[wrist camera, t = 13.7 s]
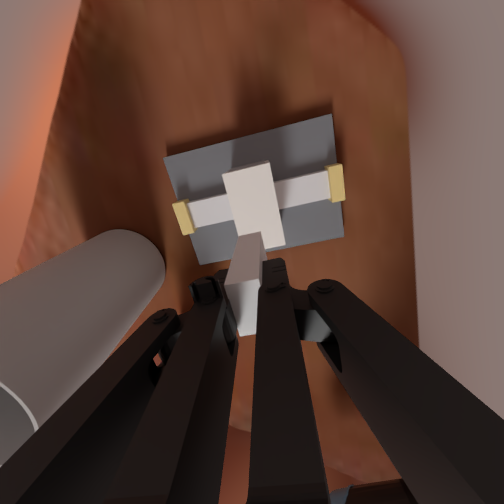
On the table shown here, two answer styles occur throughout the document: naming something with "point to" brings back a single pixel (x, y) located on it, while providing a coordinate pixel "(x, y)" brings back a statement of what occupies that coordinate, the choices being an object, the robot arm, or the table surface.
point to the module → (255, 202)
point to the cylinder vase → (68, 325)
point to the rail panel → (283, 164)
